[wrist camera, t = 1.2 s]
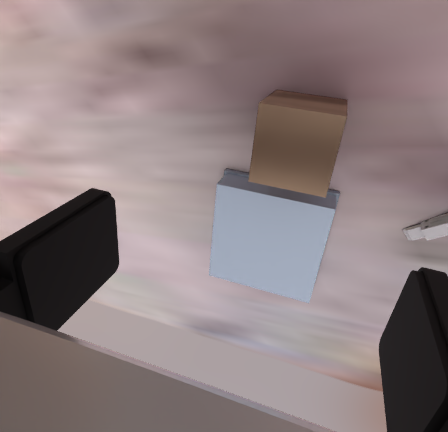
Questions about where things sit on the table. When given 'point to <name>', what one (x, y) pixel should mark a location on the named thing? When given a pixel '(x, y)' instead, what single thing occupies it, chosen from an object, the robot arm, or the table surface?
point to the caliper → (429, 228)
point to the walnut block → (297, 141)
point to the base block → (269, 235)
